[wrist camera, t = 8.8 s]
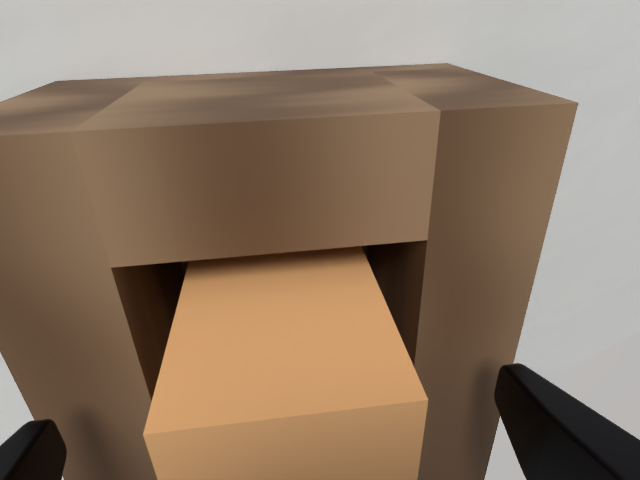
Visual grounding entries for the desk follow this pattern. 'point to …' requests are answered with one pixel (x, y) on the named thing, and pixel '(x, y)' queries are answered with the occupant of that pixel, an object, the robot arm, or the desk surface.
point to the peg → (285, 375)
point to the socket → (269, 229)
